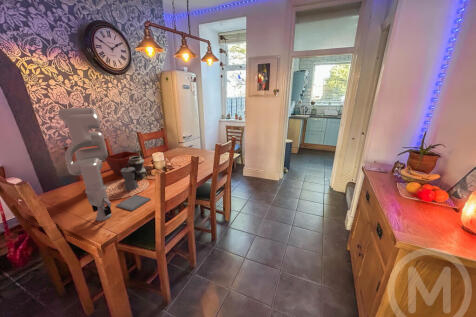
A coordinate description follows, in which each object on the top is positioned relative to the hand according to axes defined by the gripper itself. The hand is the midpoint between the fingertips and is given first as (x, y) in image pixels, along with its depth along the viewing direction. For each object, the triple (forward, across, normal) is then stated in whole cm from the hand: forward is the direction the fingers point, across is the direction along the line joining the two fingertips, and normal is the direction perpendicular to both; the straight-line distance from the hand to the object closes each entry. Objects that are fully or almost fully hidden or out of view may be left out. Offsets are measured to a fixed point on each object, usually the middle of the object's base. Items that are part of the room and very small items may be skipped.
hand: (102, 212), depth 101 cm
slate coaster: (+3, +3, +17) cm, 18 cm away
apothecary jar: (+4, -27, +47) cm, 54 cm away
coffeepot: (+4, -15, +31) cm, 35 cm away
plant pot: (+4, -46, +50) cm, 68 cm away
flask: (+4, 0, 0) cm, 4 cm away
